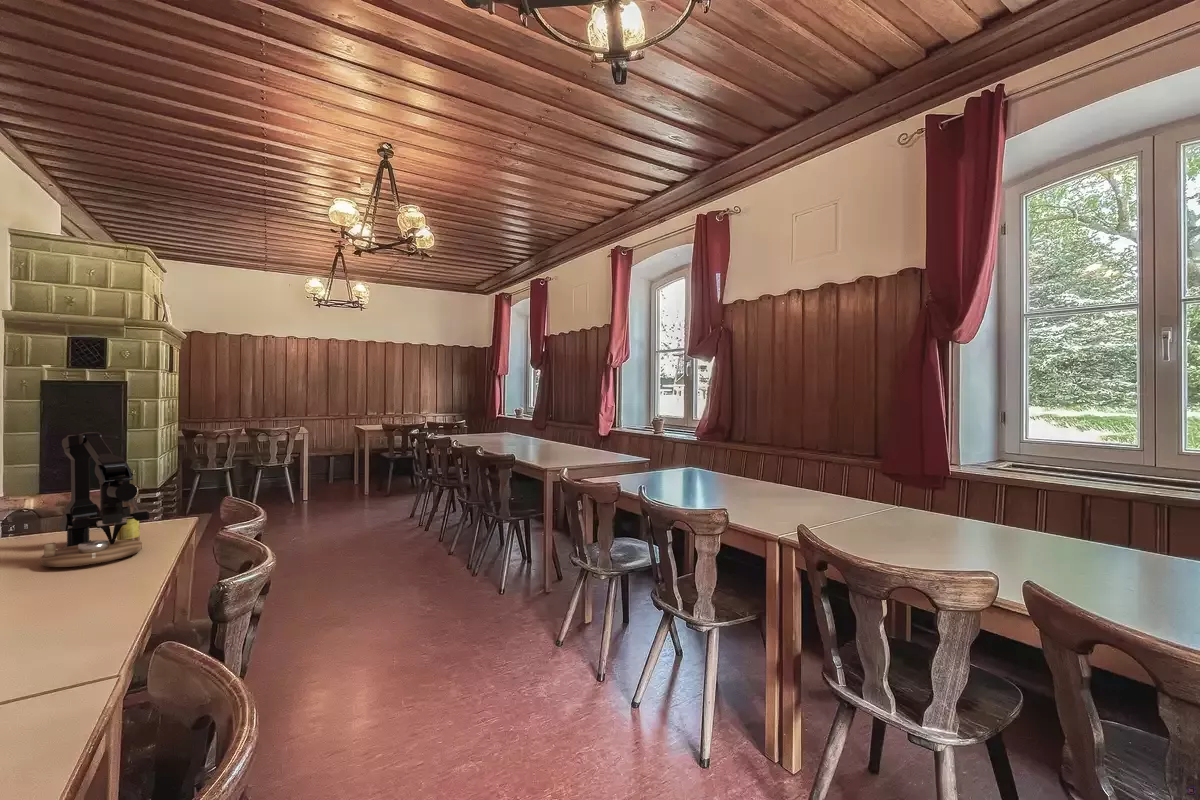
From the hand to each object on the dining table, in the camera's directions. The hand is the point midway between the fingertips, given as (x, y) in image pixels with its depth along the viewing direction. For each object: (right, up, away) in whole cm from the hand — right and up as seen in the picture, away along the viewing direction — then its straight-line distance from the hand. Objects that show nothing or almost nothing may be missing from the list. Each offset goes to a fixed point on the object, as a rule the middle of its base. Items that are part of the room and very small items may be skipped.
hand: (112, 544), depth 175 cm
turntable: (-3, -3, -3) cm, 5 cm away
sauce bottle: (-9, -4, +15) cm, 18 cm away
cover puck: (-3, -1, -3) cm, 5 cm away
